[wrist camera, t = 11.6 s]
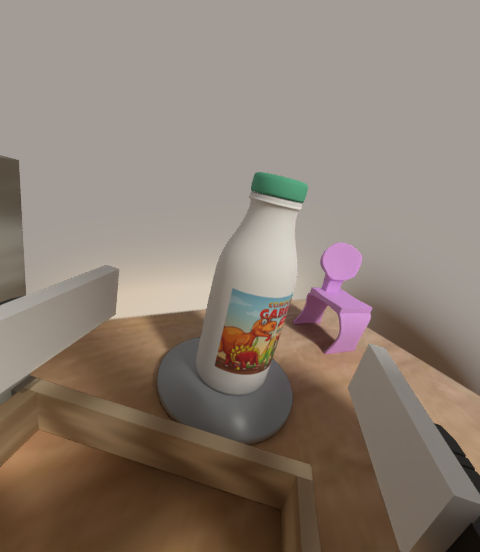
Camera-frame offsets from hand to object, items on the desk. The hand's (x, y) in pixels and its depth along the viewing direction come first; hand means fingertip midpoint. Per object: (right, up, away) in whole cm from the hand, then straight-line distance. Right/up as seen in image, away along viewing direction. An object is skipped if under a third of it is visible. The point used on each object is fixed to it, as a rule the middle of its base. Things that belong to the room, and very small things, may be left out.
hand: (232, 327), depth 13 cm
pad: (-1, -9, +14) cm, 16 cm away
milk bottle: (-1, -8, +15) cm, 17 cm away
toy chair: (+14, -7, +28) cm, 32 cm away
